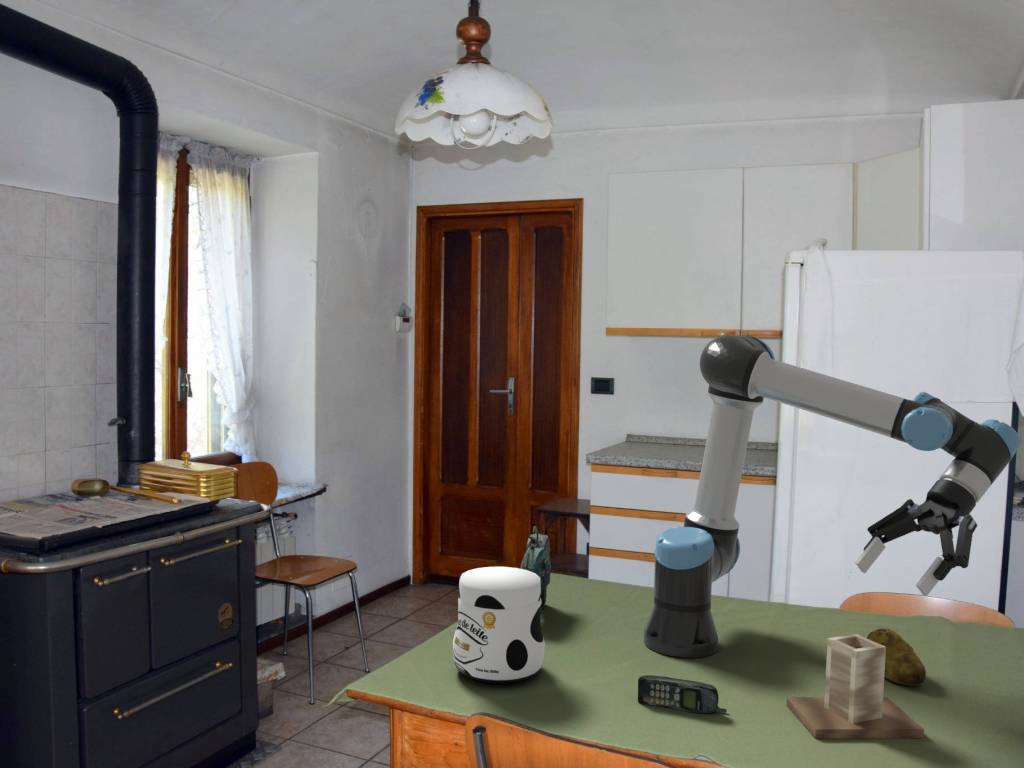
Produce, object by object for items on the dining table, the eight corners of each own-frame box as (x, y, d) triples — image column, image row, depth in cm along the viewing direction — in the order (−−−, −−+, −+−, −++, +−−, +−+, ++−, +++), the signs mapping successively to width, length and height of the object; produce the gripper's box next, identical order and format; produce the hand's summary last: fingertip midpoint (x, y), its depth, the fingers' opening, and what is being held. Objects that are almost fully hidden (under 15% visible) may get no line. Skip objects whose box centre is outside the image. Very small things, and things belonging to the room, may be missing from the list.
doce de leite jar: (436, 681, 155) (438, 584, 154) (473, 649, 171) (475, 560, 170) (526, 697, 149) (529, 596, 148) (555, 662, 165) (558, 571, 164)
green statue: (527, 600, 203) (530, 517, 201) (554, 603, 201) (557, 519, 200) (511, 628, 183) (513, 537, 182) (540, 631, 182) (543, 539, 181)
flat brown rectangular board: (815, 738, 136) (817, 685, 136) (786, 705, 148) (788, 656, 148) (923, 738, 137) (926, 685, 137) (886, 705, 149) (889, 657, 149)
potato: (883, 689, 156) (885, 647, 156) (859, 662, 169) (861, 623, 169) (929, 691, 156) (932, 649, 155) (901, 664, 169) (904, 625, 168)
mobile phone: (636, 678, 147) (726, 689, 142) (640, 671, 150) (727, 682, 145) (636, 706, 147) (725, 718, 143) (639, 699, 150) (727, 710, 146)
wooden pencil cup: (852, 723, 139) (856, 651, 138) (824, 707, 145) (827, 638, 144) (882, 717, 141) (885, 646, 140) (852, 701, 147) (856, 633, 146)
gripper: (1030, 521, 144) (960, 615, 140) (910, 491, 167) (847, 572, 163) (1011, 491, 142) (939, 587, 137) (892, 465, 165) (827, 546, 160)
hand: (889, 579), depth 150 cm, fingers open, 13 cm apart
